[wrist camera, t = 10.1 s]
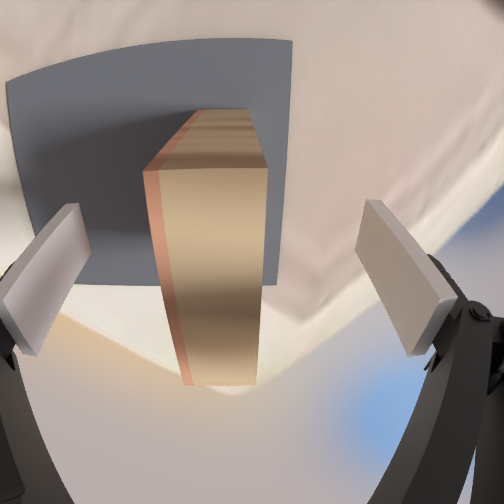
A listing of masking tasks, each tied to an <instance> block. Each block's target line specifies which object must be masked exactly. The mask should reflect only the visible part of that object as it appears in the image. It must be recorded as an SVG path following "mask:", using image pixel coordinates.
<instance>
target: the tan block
mask: <svg viewBox="0 0 504 504" xmlns="http://www.w3.org/2000/svg"><path fill="white" fill-rule="evenodd" d="M267 177H268V167H267V164H266V161H265V158H264V155H263V152H262V149H261V146H260V143H259V140H258V137H257V134H256V131H255V128H254V125H253V122H252V120H251V117H250V114H249V111H248V109H204V110H197V111H196V112H195V113H194V114H193V115H192V116H191V117H190V118H189V120H188V121H187V122H186V123H185V124H184V125H183V126H182V127H181V128H180V129H179V130H178V131H177V132H176V134H175V135H174V136H173V137H172V138H171V139H170V140H169V141H168V142H167V144H166V145H165V146H164V147H163V148H162V149H161V150H160V152H159V153H158V154H157V155H156V156H155V157H154V159H153V160H152V161H151V162H150V163H149V164H148V166H147V167H146V168H145V169H144V170H143V178H144V186H145V194H146V202H147V209H148V216H149V223H150V229H151V235H152V242H153V248H154V253H155V259H156V264H157V270H158V275H159V280H160V285H161V290H162V295H163V300H164V305H165V309H166V314H167V318H168V323H169V327H170V331H171V335H172V340H173V344H174V348H175V352H176V356H177V359H178V363H179V367H180V371H181V374H182V378H183V382H184V385H201V386H244V385H256V376H257V360H258V344H259V328H260V311H261V294H262V276H263V258H264V239H265V219H266V198H267Z"/></svg>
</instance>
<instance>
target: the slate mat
mask: <svg viewBox="0 0 504 504" xmlns="http://www.w3.org/2000/svg"><path fill="white" fill-rule="evenodd" d="M292 44H293V41H289V40H275V39H252V38H218V39H195V40H181V41H170V42H161V43H153V44H146V45H139V46H132V47H127V48H121V49H116V50H110V51H106V52H101V53H96V54H92V55H88V56H84V57H80V58H76V59H72V60H69V61H65V62H62V63H58V64H55V65H52V66H48V67H45V68H42V69H39V70H36V71H33V72H31V73H28V74H25V75H22V76H20V77H17V78H15V79H12V80H10V81H7V82H6V83H7V97H8V108H9V117H10V125H11V132H12V138H13V145H14V150H15V156H16V161H17V166H18V171H19V175H20V180H21V184H22V188H23V192H24V196H25V200H26V204H27V207H28V211H29V215H30V218H31V221H32V225H33V228H34V231H35V234H36V236H37V235H38V234H39V233H40V231H41V230H42V229H43V228H44V227H45V226H46V225H47V223H48V222H49V221H50V220H51V219H52V218H53V217H54V216H55V215H56V214H57V213H58V211H59V210H60V209H61V208H62V207H63V206H64V205H65V204H70V203H79V206H80V210H81V214H82V218H83V222H84V226H85V230H86V234H87V237H88V241H89V244H90V248H91V251H92V253H91V254H90V256H89V258H88V259H87V261H86V263H85V264H84V266H83V268H82V270H81V271H80V273H79V275H78V277H77V278H76V280H75V282H74V284H87V285H128V286H161V285H160V280H159V275H158V270H157V264H156V259H155V253H154V248H153V242H152V235H151V229H150V223H149V216H148V209H147V202H146V194H145V186H144V178H143V170H144V169H145V168H146V167H147V166H148V164H149V163H150V162H151V161H152V160H153V159H154V157H155V156H156V155H157V154H158V153H159V152H160V150H161V149H162V148H163V147H164V146H165V145H166V144H167V142H168V141H169V140H170V139H171V138H172V137H173V136H174V135H175V134H176V132H177V131H178V130H179V129H180V128H181V127H182V126H183V125H184V124H185V123H186V122H187V121H188V120H189V118H190V117H191V116H192V115H193V114H194V113H195V112H196V111H197V110H204V109H248V111H249V114H250V117H251V120H252V122H253V125H254V128H255V131H256V134H257V137H258V140H259V143H260V146H261V149H262V152H263V155H264V158H265V161H266V164H267V167H268V177H267V198H266V219H265V239H264V258H263V276H262V286H263V285H277V274H278V263H279V252H280V240H281V228H282V215H283V202H284V189H285V175H286V160H287V144H288V128H289V110H290V91H291V69H292Z"/></svg>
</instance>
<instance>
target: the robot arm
mask: <svg viewBox="0 0 504 504" xmlns="http://www.w3.org/2000/svg"><path fill="white" fill-rule="evenodd" d="M355 251H356V253H357V255H358V257H359V258H360V260H361V262H362V264H363V266H364V268H365V270H366V271H367V273H368V275H369V277H370V279H371V281H372V283H373V285H374V287H375V289H376V291H377V293H378V295H379V297H380V299H381V301H382V303H383V305H384V306H385V308H386V311H387V313H388V315H389V317H390V319H391V321H392V323H393V325H394V327H395V329H396V331H397V334H398V336H399V338H400V340H401V342H402V344H403V347H404V348H405V351H406V353H407V356H408V357H413V356H418V355H423V354H425V353H426V352H427V350H428V349H429V347H430V346H431V344H432V343H433V345H434V347H435V349H436V352H435V353H434V355H433V356H432V358H431V359H430V361H429V362H428V364H427V365H426V366H425V368H424V370H427V369H428V367H429V369H428V372H427V375H426V378H425V381H424V384H423V387H422V389H421V392H420V395H419V398H418V400H417V403H416V406H415V408H414V411H413V413H412V416H411V418H410V420H409V423H408V425H407V428H406V430H405V432H404V434H403V437H402V439H401V441H400V443H399V445H398V448H397V450H396V452H395V454H394V456H393V458H392V460H391V462H390V464H389V466H388V468H387V470H386V472H385V473H384V475H383V477H382V479H381V481H380V483H379V485H378V486H377V488H376V490H375V492H374V494H373V495H372V497H371V499H370V500H369V502H368V503H367V504H457V502H458V499H459V497H460V494H461V491H462V489H463V486H464V483H465V480H466V477H467V474H468V471H469V467H470V465H471V461H472V458H473V454H474V451H475V447H476V456H475V468H474V478H473V486H472V493H471V500H470V504H504V318H500V317H494V316H492V314H491V313H490V311H489V310H488V309H487V308H486V307H485V306H484V305H482V304H481V303H479V302H476V301H468V299H467V298H466V297H465V295H464V294H463V292H462V291H461V290H460V288H459V287H458V286H457V284H456V283H455V281H454V280H453V279H451V276H450V275H449V273H447V272H446V270H445V268H444V267H443V266H442V264H441V263H440V262H439V261H438V260H436V259H435V258H434V257H433V256H431V255H430V254H426V253H425V252H424V251H423V249H422V248H421V247H420V246H419V244H418V243H417V242H416V241H415V239H414V238H413V237H412V236H411V235H410V233H409V232H408V231H407V230H406V229H405V227H404V226H403V225H402V224H401V223H400V222H399V220H398V219H397V218H396V217H395V216H394V215H393V213H392V212H391V211H390V210H389V209H388V208H387V207H386V206H385V204H384V203H383V202H382V201H381V200H368V199H366V202H365V207H364V212H363V217H362V221H361V226H360V230H359V235H358V239H357V243H356V248H355ZM91 253H92V251H91V248H90V244H89V241H88V237H87V234H86V230H85V226H84V222H83V218H82V214H81V210H80V206H79V203H70V204H65V205H64V206H63V207H62V208H61V209H60V210H59V211H58V213H57V214H56V215H55V216H54V217H53V218H52V219H51V220H50V221H49V222H48V223H47V225H46V226H45V227H44V228H43V229H42V230H41V231H40V233H39V234H38V235H37V236H36V237H35V238H34V239H33V241H32V242H31V243H30V244H29V245H28V247H27V248H26V249H25V250H24V252H23V253H22V254H21V255H20V256H19V258H18V259H17V260H16V261H15V262H14V263H13V264H11V265H10V266H9V268H8V269H7V270H6V271H5V273H4V276H3V275H2V277H1V278H0V504H74V502H73V500H72V499H71V497H70V495H69V493H68V491H67V490H66V488H65V486H64V484H63V482H62V481H61V478H60V476H59V474H58V472H57V470H56V468H55V466H54V464H53V462H52V459H51V457H50V455H49V453H48V450H47V449H46V446H45V444H44V441H43V439H42V436H41V434H40V431H39V429H38V426H37V423H36V420H35V418H34V415H33V412H32V409H31V406H30V403H29V400H28V397H27V394H26V391H25V387H24V384H23V381H22V377H21V373H20V369H19V365H18V361H17V357H16V355H15V353H14V352H13V348H14V346H15V344H16V345H17V346H18V347H19V349H20V351H21V352H22V353H23V354H26V355H31V356H36V357H37V356H38V354H39V352H40V349H41V347H42V345H43V343H44V341H45V338H46V336H47V334H48V332H49V330H50V328H51V326H52V324H53V322H54V320H55V318H56V316H57V314H58V312H59V310H60V308H61V306H62V304H63V302H64V300H65V298H66V297H67V295H68V293H69V291H70V289H71V287H72V286H73V284H74V282H75V280H76V278H77V277H78V275H79V273H80V271H81V270H82V268H83V266H84V264H85V263H86V261H87V259H88V258H89V256H90V254H91Z"/></svg>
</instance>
